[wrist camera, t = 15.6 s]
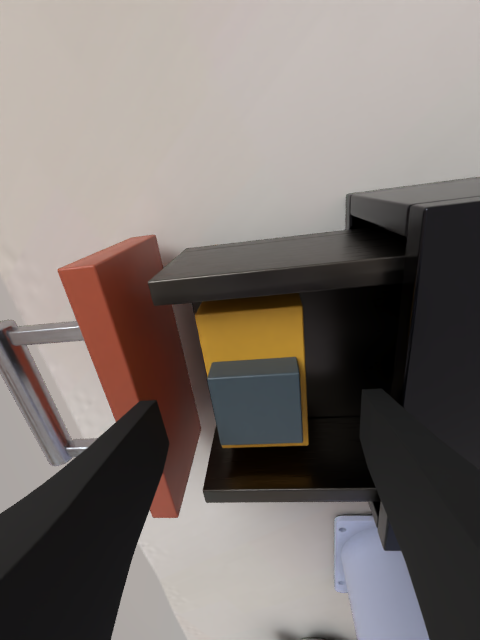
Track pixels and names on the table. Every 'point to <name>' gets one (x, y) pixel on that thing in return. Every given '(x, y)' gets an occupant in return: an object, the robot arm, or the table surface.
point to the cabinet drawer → (168, 358)
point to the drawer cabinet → (433, 310)
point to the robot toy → (312, 639)
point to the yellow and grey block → (256, 369)
